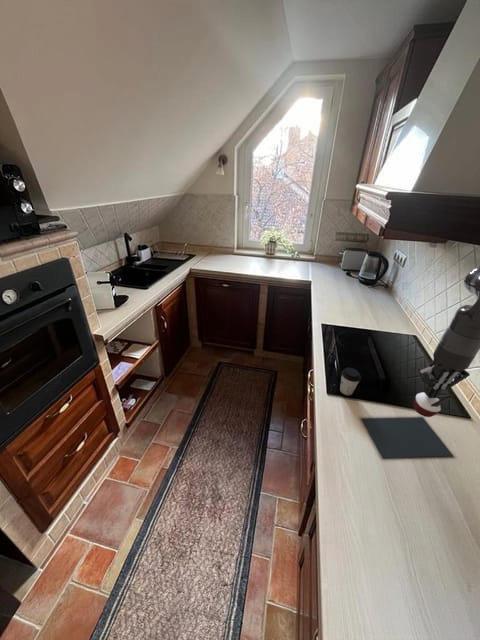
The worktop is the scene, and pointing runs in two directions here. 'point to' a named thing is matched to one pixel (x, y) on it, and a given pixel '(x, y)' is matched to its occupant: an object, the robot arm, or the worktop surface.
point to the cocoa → (428, 404)
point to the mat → (405, 438)
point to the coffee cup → (349, 381)
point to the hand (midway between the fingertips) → (430, 395)
